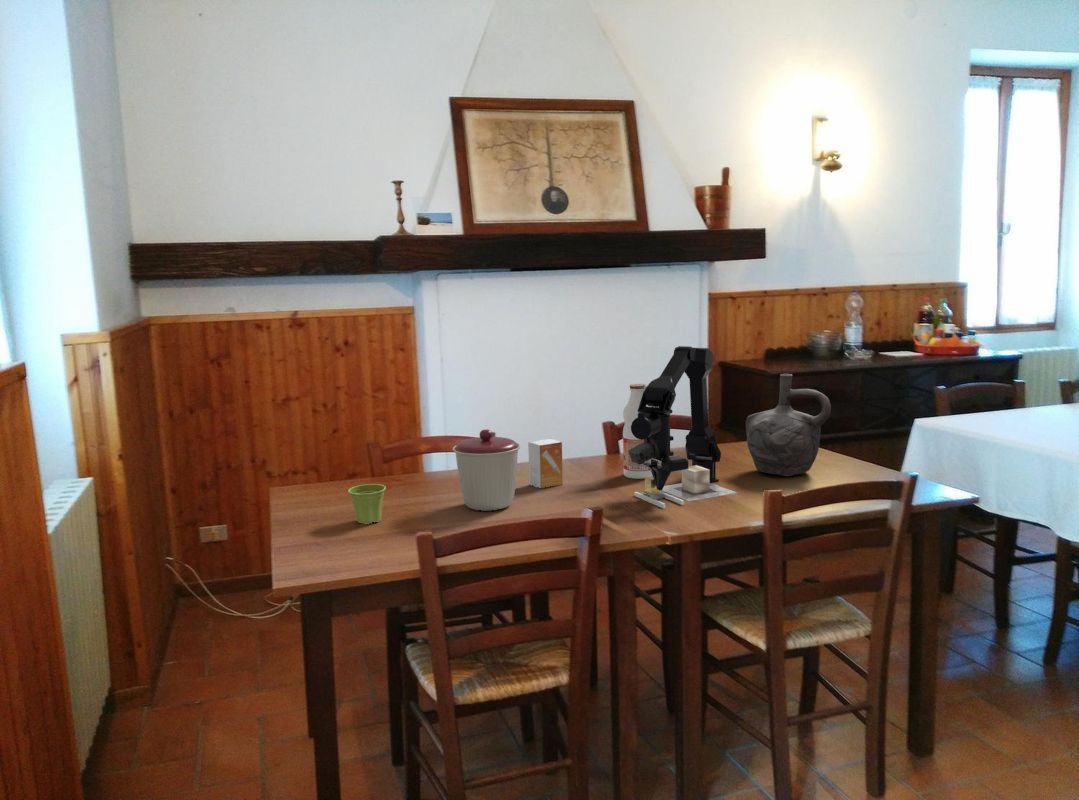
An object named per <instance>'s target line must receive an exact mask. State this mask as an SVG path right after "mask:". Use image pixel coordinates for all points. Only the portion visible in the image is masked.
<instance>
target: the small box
mask: <svg viewBox="0 0 1079 800" xmlns="http://www.w3.org/2000/svg"><path fill="white" fill-rule="evenodd" d="M527 445H528V447H527V448H528V480H529V481H528V482H529V486H532V485H534V486H536V487H535V488H537V487H539V488H538V489H540V488H541V489H545V487H546V488H551V487H556V485H557V486H562V485H563V484H564V482H563V474H564V473H563V442H562V441H560V440H558V439H553V438H548V439H547V438H546V439H540V440H536V441H535V440H534V441H529V442H528V443H527ZM561 484H562V485H561ZM534 486H533V487H534ZM550 486H551V487H550Z"/></svg>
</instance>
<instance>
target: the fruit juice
mask: <svg viewBox="0 0 1079 800" xmlns="http://www.w3.org/2000/svg"><path fill="white" fill-rule="evenodd" d="M646 387H647V384H645V383H631V384H629V390H630V394H629V399H628V402H627V404H626V405H625V407H624V408H623V411H622V415H623V417H622V418H623V420H624V424H623V425H624V426H623V429H622V447H623V448H622V453H623V454H622V456H623V459H622V461H623V463H622V465H623V469H622V470H623V475H624V477H625V478H628V479H634V480H635V479H636V480H638V479H640V480H645V477H650V476H653V475H652V473H651V470H650V469H649V468H648V467H646V466H645V465H644V464H640V465H639V464H637V463H635V462H632V461H631V458H630V455H629V452H628V451H629V450H630V449H632V448H634V447H635V446H637V445H639V444H642V443H644V439H643V440H640V439H637V438H636V437H635V436H634V435H633V434H632V431H631V425H632V422H633V421H634V420H635V419H636V418H638V413H639V412H638V408H639V405H640V401H641V398H642V395H643V392H644V390H645V388H646ZM646 406H647V405H646ZM648 407H651V406H648ZM645 463H646V461H645Z"/></svg>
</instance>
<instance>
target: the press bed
mask: <svg viewBox="0 0 1079 800" xmlns="http://www.w3.org/2000/svg"><path fill="white" fill-rule="evenodd" d="M661 491H662V492H664V493H667V494H669V495H671V496H674V497H676V498H679V499H681V500H684V501H686V502H692V501H699V500H705V499H710V498H716V497H722V496H728V495H733V496H735V497H737V496H738V492H737V491H734V490H731V489H728V488H725V487H723V486H720V485H717V484H715V483H712V482H710V485H709V491H705V492H699V493H692V492H690V491H687V490H685V489H682V482H679V483H674V484H669V485H664V487H663V489H662V490H661Z"/></svg>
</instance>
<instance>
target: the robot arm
mask: <svg viewBox="0 0 1079 800" xmlns="http://www.w3.org/2000/svg"><path fill="white" fill-rule="evenodd" d="M713 362H714V354H713V352H712V351H711V350H710V348H708V347H692V346H689V345H685V346H684V345H683V346H682V345H678V346H676V347H674V349H673V354H672V356H671V357H670V359H669V360H668V363H667V365H666V366H665V367H664V369H663V371H662V372H661V374H660V376H659V377H657V378H655V379H652V380H651V381H650V382H649V383H648V384H647V385H646V388H645V390H644V392H643V395H642V398H641V401H640V405H639V408H638V412H639V413H638V418H636V419H635V420H634V421H633V422H632V425H631V431H632V434H633V435H634V436H635V437H636V438H637V439H640V440H643V439H644V443H642V444H639V445H637V446H635V447H634V448H632V449H630V450H629V451H628V452H629V455H630V458H631V461H632V462H635V463H637V464H639V465H640V464H644V465H645V466H646V467H648V468H649V469H650V470H651V473H652V475H653V478H654V481H655V484H656V487H657V490H662V489H663V487H664V486H666V483H667V481H668V478H669V477H670V475H671V474H672V472H680V471H682V470H685V469H689V466H695V465H697V466H700V467H703V468H706V469H709V470H710V483H712V482H718V481H720V479H719V478H717V477H716V475H717V473H716V472H717V471H716V468H717V467H716V466H717V465H716V463H718V462H719V463H720V462H721V458H722V457H721V456H722V451H721V450H720V448H719V445H718V444H717V442H716V436H715V433H714V432H713V430H712V429H711V428H710V426H709V405H708V402H709V401H708V381H707V377H708V375H709V374H710V373H711V370H712V369H713ZM684 374H685V375H686V377H687V378H688V379H689V380H688V381H689V395H690V396H689V397H690V398H689V399H690V419H691V420H690V421H691V428H690V430H689V432H688V433H687V434H686V436H685V445H684V446H685V454H686V457H683V456H679V455H676V456H674V454H675V453H674V451H672V450H671V441H674V436H672V435H671V414H673V409H672V406H673V404H674V402H675V400H676V396H677V393H676V387H677V385H678V383H679V381H681V379H682V376H683V375H684ZM646 405H647V406H646ZM648 406H651V407H648ZM689 460H691V465H689V464H690V461H689ZM645 461H646V463H645Z"/></svg>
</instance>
